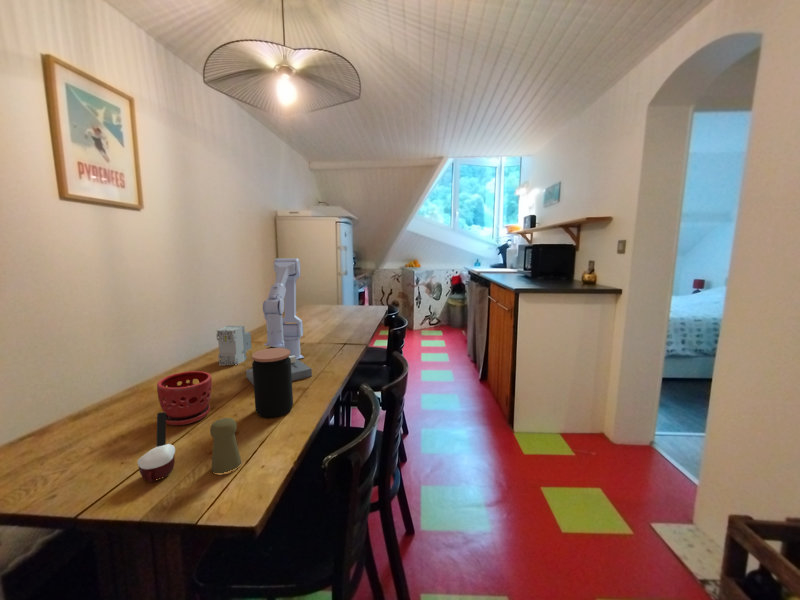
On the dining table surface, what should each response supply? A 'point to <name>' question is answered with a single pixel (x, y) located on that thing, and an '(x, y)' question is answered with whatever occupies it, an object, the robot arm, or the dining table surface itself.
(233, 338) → the circuit breaker
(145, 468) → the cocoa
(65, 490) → the dining table surface
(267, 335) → the robot arm
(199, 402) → the plant pot
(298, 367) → the grey slider panel
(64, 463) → the dining table surface
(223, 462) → the cork
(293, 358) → the paddle
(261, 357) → the coffee jar
